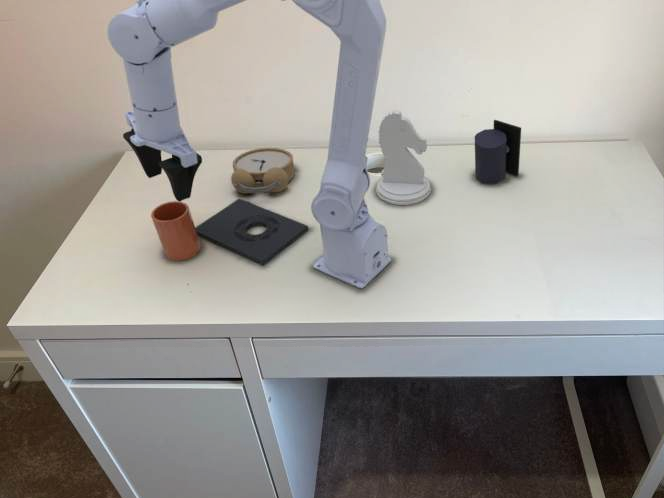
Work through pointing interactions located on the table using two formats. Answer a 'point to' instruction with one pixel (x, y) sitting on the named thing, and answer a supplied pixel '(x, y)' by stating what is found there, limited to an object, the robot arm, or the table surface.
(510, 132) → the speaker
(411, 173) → the chess piece
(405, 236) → the table surface
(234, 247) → the drain mat
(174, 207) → the cup
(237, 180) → the alarm clock
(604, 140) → the table surface
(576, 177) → the table surface
